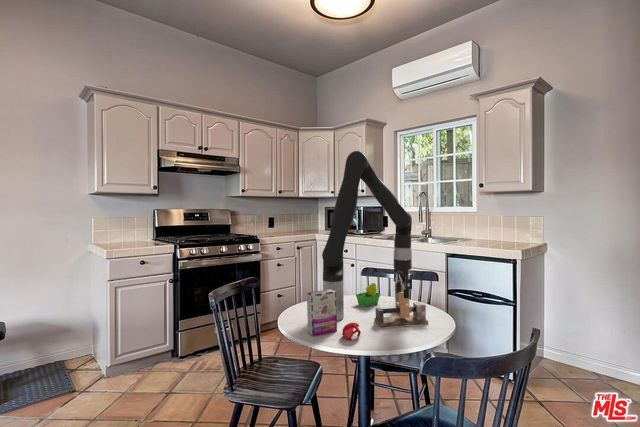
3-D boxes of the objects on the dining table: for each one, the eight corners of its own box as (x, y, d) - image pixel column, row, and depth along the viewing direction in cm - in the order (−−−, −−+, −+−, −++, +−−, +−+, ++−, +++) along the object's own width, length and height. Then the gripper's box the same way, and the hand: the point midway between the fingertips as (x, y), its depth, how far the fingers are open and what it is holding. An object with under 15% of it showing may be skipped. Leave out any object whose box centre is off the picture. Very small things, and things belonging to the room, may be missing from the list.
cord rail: (380, 327, 146) (380, 309, 146) (374, 321, 154) (374, 303, 154) (428, 324, 150) (427, 306, 149) (419, 318, 157) (419, 300, 157)
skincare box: (409, 307, 174) (409, 282, 173) (408, 309, 170) (407, 284, 169) (396, 305, 176) (396, 281, 176) (394, 308, 172) (394, 283, 172)
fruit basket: (370, 300, 187) (370, 279, 186) (383, 304, 180) (383, 282, 179) (354, 304, 179) (354, 282, 179) (367, 308, 173) (367, 285, 172)
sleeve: (400, 318, 149) (400, 294, 149) (395, 314, 154) (395, 291, 154) (409, 317, 150) (409, 293, 149) (404, 313, 155) (404, 290, 154)
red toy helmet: (366, 329, 135) (357, 318, 139) (357, 328, 131) (348, 316, 135) (353, 344, 137) (345, 333, 141) (344, 344, 132) (336, 332, 136)
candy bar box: (331, 327, 147) (330, 288, 146) (337, 331, 142) (336, 291, 142) (306, 332, 142) (306, 292, 141) (312, 336, 137) (311, 294, 137)
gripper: (388, 255, 157) (388, 291, 158) (400, 260, 143) (400, 300, 144) (404, 255, 159) (404, 291, 159) (418, 260, 144) (417, 299, 145)
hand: (402, 295), depth 151 cm, fingers open, 8 cm apart
